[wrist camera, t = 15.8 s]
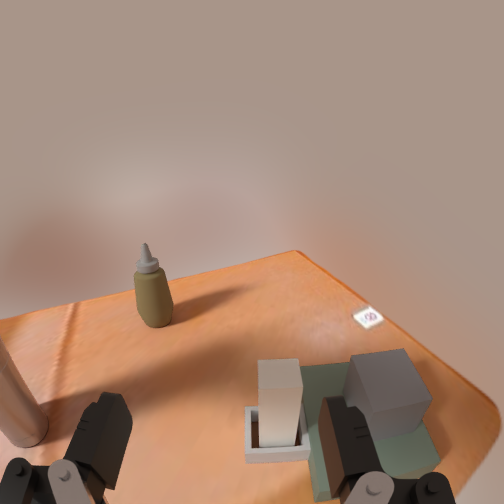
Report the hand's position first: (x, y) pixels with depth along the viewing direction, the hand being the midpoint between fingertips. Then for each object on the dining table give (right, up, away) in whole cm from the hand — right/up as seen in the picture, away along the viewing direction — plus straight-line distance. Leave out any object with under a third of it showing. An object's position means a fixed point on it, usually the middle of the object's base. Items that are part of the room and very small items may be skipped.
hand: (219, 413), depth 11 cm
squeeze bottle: (-19, -9, +53) cm, 57 cm away
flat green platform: (+13, -19, +26) cm, 35 cm away
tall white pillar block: (+5, -20, +26) cm, 33 cm away
